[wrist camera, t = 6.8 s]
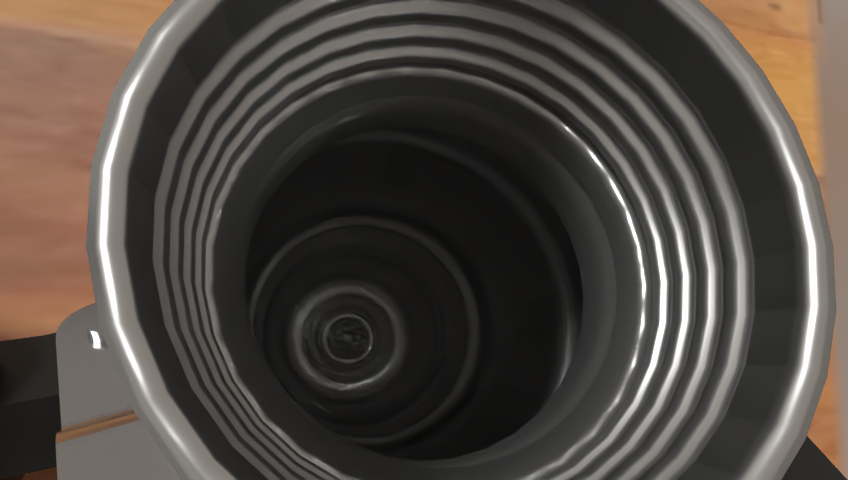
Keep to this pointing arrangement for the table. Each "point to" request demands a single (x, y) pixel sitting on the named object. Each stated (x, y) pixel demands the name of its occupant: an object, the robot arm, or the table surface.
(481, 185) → the silver metal bottle
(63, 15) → the table surface
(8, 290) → the table surface
